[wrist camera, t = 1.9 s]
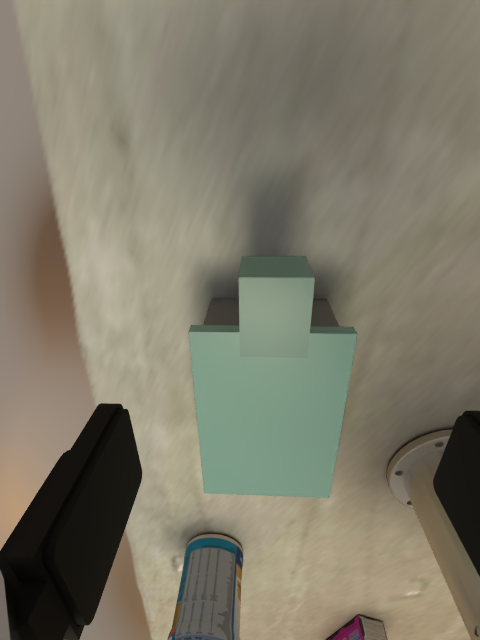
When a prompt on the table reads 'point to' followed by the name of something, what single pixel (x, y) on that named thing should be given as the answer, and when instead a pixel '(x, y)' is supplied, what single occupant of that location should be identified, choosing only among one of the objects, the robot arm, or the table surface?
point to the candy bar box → (361, 630)
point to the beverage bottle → (209, 590)
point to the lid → (271, 387)
